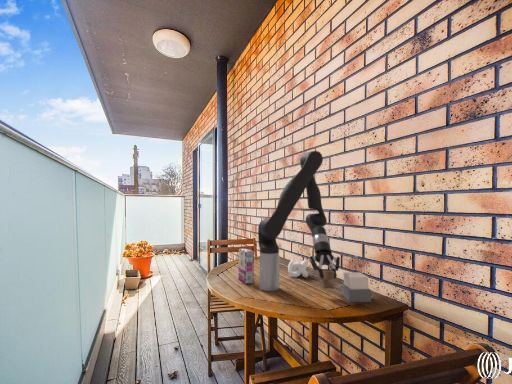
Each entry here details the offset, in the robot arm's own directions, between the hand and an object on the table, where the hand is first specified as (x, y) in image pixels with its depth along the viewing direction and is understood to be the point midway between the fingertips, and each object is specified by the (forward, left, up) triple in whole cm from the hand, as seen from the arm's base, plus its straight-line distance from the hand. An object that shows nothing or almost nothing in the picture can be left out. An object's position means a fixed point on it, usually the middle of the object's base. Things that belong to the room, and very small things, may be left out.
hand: (328, 278), depth 106 cm
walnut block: (0, +2, -4) cm, 5 cm away
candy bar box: (-37, +26, -9) cm, 46 cm away
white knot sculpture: (-8, +36, -9) cm, 38 cm away
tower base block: (+12, +2, -9) cm, 15 cm away
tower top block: (+12, +2, -4) cm, 13 cm away
